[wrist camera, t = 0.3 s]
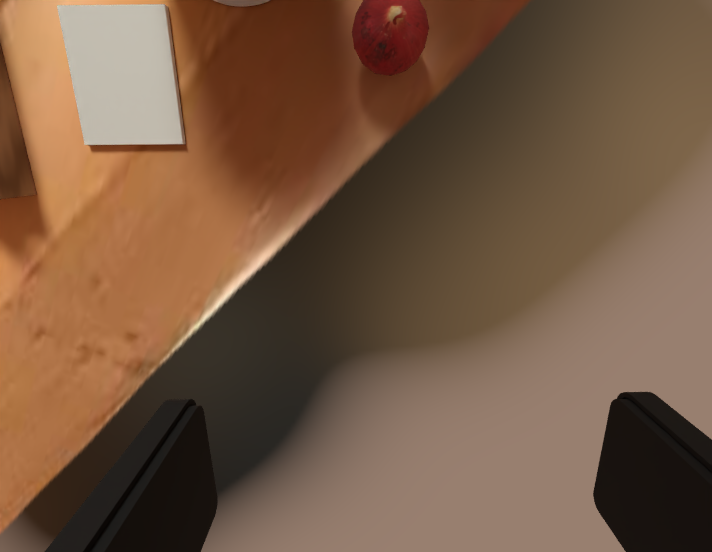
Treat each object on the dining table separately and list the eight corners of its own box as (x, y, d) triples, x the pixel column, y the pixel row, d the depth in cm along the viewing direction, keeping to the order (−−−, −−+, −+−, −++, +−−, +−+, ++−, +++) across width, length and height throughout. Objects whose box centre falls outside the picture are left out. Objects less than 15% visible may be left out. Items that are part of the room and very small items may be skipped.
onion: (395, 96, 35) (405, 79, 27) (340, 57, 34) (335, 29, 26) (433, 33, 34) (455, -3, 26) (377, -8, 33) (382, -59, 25)
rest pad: (62, 8, 33) (56, 5, 33) (168, 7, 33) (164, 4, 32) (89, 145, 36) (84, 144, 36) (185, 144, 36) (182, 143, 36)
